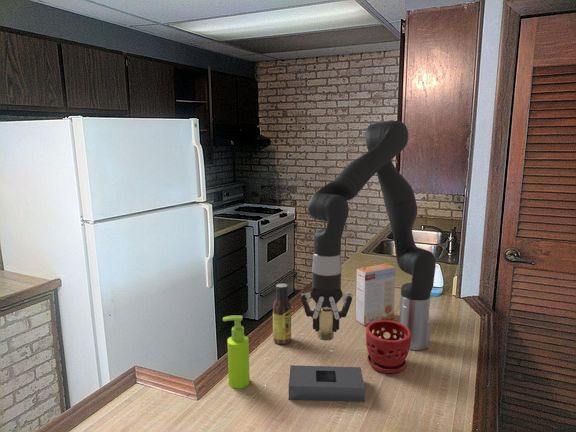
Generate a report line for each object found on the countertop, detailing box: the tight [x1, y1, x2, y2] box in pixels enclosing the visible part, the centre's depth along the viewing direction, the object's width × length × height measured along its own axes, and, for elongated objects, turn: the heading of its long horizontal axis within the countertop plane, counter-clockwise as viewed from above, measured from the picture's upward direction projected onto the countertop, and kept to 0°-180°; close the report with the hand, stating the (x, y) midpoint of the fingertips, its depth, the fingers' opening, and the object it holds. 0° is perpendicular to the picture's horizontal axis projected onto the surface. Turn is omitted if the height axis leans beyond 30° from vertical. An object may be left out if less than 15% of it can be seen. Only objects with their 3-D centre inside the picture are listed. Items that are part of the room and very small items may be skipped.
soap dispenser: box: [222, 314, 251, 389], centre depth 116 cm, size 6×7×20 cm
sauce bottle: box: [272, 283, 292, 345], centre depth 139 cm, size 7×6×20 cm
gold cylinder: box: [317, 307, 335, 341], centre depth 111 cm, size 4×4×8 cm
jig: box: [288, 364, 366, 403], centre depth 114 cm, size 20×10×4 cm, turn 87°
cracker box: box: [355, 263, 397, 327], centre depth 155 cm, size 14×6×21 cm, turn 115°
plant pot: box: [365, 320, 411, 374], centre depth 125 cm, size 13×13×12 cm
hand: (325, 330), depth 111 cm, fingers closed on gold cylinder, 4 cm apart
